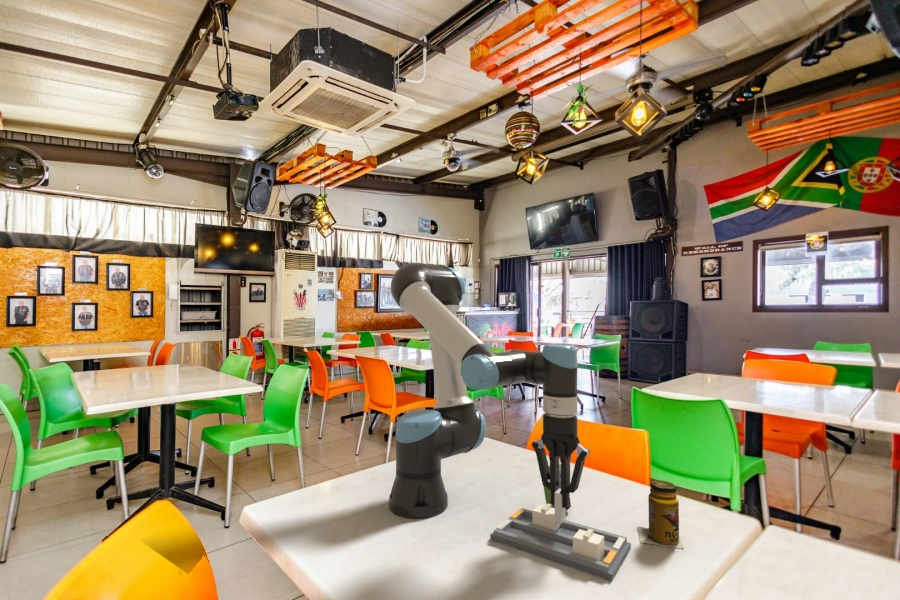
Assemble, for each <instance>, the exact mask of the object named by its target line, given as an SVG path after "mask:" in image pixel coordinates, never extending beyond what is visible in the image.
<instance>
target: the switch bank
mask: <svg viewBox="0 0 900 600" xmlns="http://www.w3.org/2000/svg"><path fill="white" fill-rule="evenodd" d="M579 529H581V530H584V531H587V530H588V529H592V530H594V533H595V534H598V535H602V536H604V556H603V557H602V559H601V560H600V561H597V560H594V559H591V558H588V557H585V556H581V555H578V554H575V553H573V536H574V535H575V534H576V533H577V532H578V531H579ZM489 535H490V536H489V541H493V542H495V543H499V544H502V545H504V546H507V547H510V548H513V549H515V550H518V551H522V552H525V553H527V554H530V555H533V556H536V557H539V558H543V559H545V560H548V561H551V562H554V563H557V564H560V565H564V566H566V567H569V568H573V569H575V570H578V571H581V572H584V573H587V574H589V575H593V576H595V577H599V578H602V579H605V580H608V581H610V582H613V581H614V579H615V577H616V575H617V574H618V572H619V571H620V568H621V567H622V565H623V563H624V561H625V560H626V558H627V557H628V555H629V553H630V551H631V549H632V543H631V542H628V540H627V536H624V535H619V534H617V533H612V532H609V531H605V530H601V529H600V528H599V529H598V528H595V527H591V526H587V525H584V524H580V523H576V522H574V521H570V520H567V519H565V520H564V521H563V522H562V523H561V524H560V527H559V528H558V529H557V530H556V531H553V530H550V529H547V528H543V527H540V526H537V525H533V524H532V510H530V509H527V508H519V509H518V510H517V511H515V512H514V513H512V514H511V515H510V516H509V518H507V519H505V520H504V521H503V522H502V523H500V524H499V525H497V526H496V528H495V529H494V530H493V531H492V533H490V534H489Z"/></svg>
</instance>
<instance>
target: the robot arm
mask: <svg viewBox="0 0 900 600" xmlns="http://www.w3.org/2000/svg"><path fill="white" fill-rule="evenodd" d="M465 284H466V283H465V280H464V278H463V276H462V274H461V273H460V272H459V271H458V270H457V269H456V268H454V267H452V266H451V267H449V266H446V265H441V264H440V265H434V264H425V263H416V262H414V263H407V264H405V265H402V266H401V267H399V268H398V269H397V270H396V271H395V273H394V274H393V275H392V277H391V281H390V293H391V296H392V298H393V300H394V302H395V303H396V305H397V306H398V307H399V308H400V309H401V311H403V312H405V313H408V314H409V313H410V314H411V315H412V316H413V317H414V318H415V319H416V320H417V322H419V324H421V325H422V327H424V328H425V330H426V331H427V332H428V337H429V344H430V351H431V360H432V368H433V375H434V381H435V390H436V396H437V401H436V403H435V404H434V405H433V409H422V410H420V409H419V410H413V411H410V412H409V411H408V412H407V413H404V414H403V415H401V416H400V417H399V418H398V420H397V422H396V427H395V428H396V431H395V434H394V435H395V477H394V480H393V484H392V487H391V491H390V493H389V498H388V509H389V511H390V512H392V513H393V514H395V515H397V516H400V517H404V518H409V519H421V518H422V519H423V518H430V517H434V516H437V515H440V514H441V513H442V512H445V510H447V508H448V505H449V504H448V503H449V501H448V500H449V499H448V498H449V497H448V493H447V491H446V488H445V483H444V480H443V477H442V460H444V459H447V458H450V457H452V456H453V457H454V456H457V455H460V454H466V453H467V454H468V453H469V452H471V451H473V450H476V449H478V448H479V447H480V446H481V445H482V443H483V442H484V440H485V437H486V433H487V422H486V419H485V416H484V415H483V414H482V411H480V410H479V409H478V408H476V407H475V401H474V400H473V399H472V398H470V397H469V396H468V391H467V390H468V389H467V387H468V388H469V389H471V390H489V389H494V388H498V387H504V386H511V385H516V384H523V383H526V384H533V385H534V384H535V385H540V386H541V385H542V411H543V413H544V414H543V415H542V434H541V438H539V439H536V440H534V441H532V442H531V446H532V449H533V450H534V452H535V454H536V458H537V464H538V469H539V474H540V478H541V483H542V486H547V487H548V488H550V490H551V504H552V505H555V522H556V523H559V524H561V523H562V522H563V521H564V520H567V518H566V512H567V511H566V508H567V507H568V506H569V504H570V502H571V497H570V493H571V494H574V493H575V492H576V491H577V490H578V489H579V486H580V483H581V482H580V481H581V478H582V474H583V471H584V466H585V461H586V459H587V458H588V456H589V455H590V453H591V450H590V449H589V448H585V447H584V446H583V445H581V444H580V443H581V442H580V439H579V437H578V416H577V414H578V367H579V364H578V353H577V351H578V350H577V348H576V347H575V346H574V345H572V344H556V343H555V344H554V343H552V344H545V345H543V347H542V351H532V350H522V349H507V350H505V351H504V352H494V351H493V350H492V349H491V348H490V347H488V346H487V345H486V344H485V343H484V342H483V341H482V340H481V339H480V338H479V337H478V336H477V335H476V334H475V333H474V332H473V331H472V330H471V329H470V328H469V327H467V326H466V324H464V322H462V321H461V320H460V319H459V318H458V317H457V312H458V311H459V310H460V309H461V308H460V307H461V306H460V303H461V302H462V301H463V299H464V295H465V294H466V285H465ZM545 448H546V450H547V452H548V457H547V453H546V450H545ZM575 451H576V454H575V455H576V456H577V457H576V459H575V464H574V467H573V472H572V475H571V459H572V455H573V453H574V452H575ZM547 458H548V459H549V460H548V459H547ZM547 461H550V471H549V466H548V462H547ZM559 461H560V462H561V489H558V487H559V486H560V485H559ZM569 499H570V500H569ZM569 501H570V502H569Z"/></svg>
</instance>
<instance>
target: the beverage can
mask: <svg viewBox="0 0 900 600" xmlns="http://www.w3.org/2000/svg"><path fill="white" fill-rule="evenodd" d="M547 462H548V466H549V471H550V460H547ZM559 485H560V486H559V487H558V489H561V462H560V460H559ZM542 486H543V485H542ZM543 493H544V498H545V499H544V500H545V505H546V504H551V490H550V488H548V487H547V486H543ZM569 500H570V501H569V502H570V504H569V506H568V507H567V508H566V512H568V510H569V509H570V508H571V507H572V502H571V498H570V499H569ZM551 508H555V505H552V504H551Z"/></svg>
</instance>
